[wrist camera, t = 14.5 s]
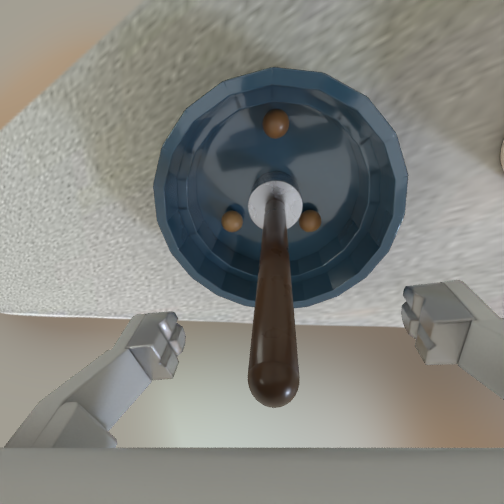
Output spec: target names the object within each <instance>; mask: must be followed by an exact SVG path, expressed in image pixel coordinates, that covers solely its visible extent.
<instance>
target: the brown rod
mask: <svg viewBox="0 0 504 504" xmlns="http://www.w3.org/2000/svg"><path fill="white" fill-rule="evenodd" d="M302 209H303V202H302V198H301V194H300V190H299V187H298V184H297V182H296V181H295V180H294V179H293V178H292V177H291V176H290V175H288V174H286V173H284V172H280V171H272V172H268V173H265V174H263V175H262V176H260V177H259V178H258V179H257V180H256V182H255V183H254V185H253V187H252V190H251V194H250V198H249V201H248V212H249V215H250V217H251V219H252V221H253V222H254V223H255V224H256V225H257V226H258V227H259V228H261V229H263V233H262V242H261V252H260V262H259V271H258V281H257V291H256V301H255V310H254V320H253V330H252V339H251V349H250V350H251V351H250V360H249V368H248V384H249V388H250V391H251V393H252V395H253V396H254V397H255V398H256V400H257V401H259V402H260V403H261V404H263V405H265V406H268V407H272V408H276V407H282V406H284V405H286V404H288V403H289V402H290V401H291V400H292V399H293V398H294V396H295V395H296V393H297V391H298V387H299V367H298V357H297V343H296V332H295V320H294V308H293V296H292V284H291V272H290V260H289V248H288V236H287V229H289V228H290V227H292V226H293V225H294V224H295V223H296V222H297V221H298V220H299V218H300V216H301V214H302Z"/></svg>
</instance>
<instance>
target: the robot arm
mask: <svg viewBox="0 0 504 504" xmlns="http://www.w3.org/2000/svg"><path fill="white" fill-rule="evenodd" d="M403 296H404V298H405V300H406V302H405V303H404V304H403V305H402V311H401V314H402V320H403V324H404V326H405V329H406V330H407V332H408V334H409V335H410V336H412V337H414V338H415V339H416V343H415V347H416V349H417V350H418V352H419V354H420V356H421V357H422V359H423V361H424V363H425V364H426V365H437V364H438V365H439V364H458V366H459V367H460V368H462V369H463V370H465V371H466V372H467V373H468V374H470V375H471V376H472V377H474V378H475V379H477V380H478V381H479V382H481V383H482V384H483V385H485V386H486V387H487V388H489V389H490V390H491V391H493V392H494V393H495V394H497V395H498V396H499V397H501V398H502V399H503V400H504V318H500V317H499V316H498V315H497V314H496V313H495V312H494V311H493V310H492V309H491V308H489V307H488V306H487V305H486V304H485V303H484V302H483V301H482V300H481V299H480V298H479V297H478V296H477V295H476V294H475V293H474V292H473V291H472V290H471V289H470V288H469V287H468V286H467V285H466V284H465V283H464V282H463V281H460V280H454V281H445V282H440V283H430V284H421V285H413V286H406V287H405V289H404V292H403ZM177 320H178V318H177V316H176V314H175V312H159V313H148V314H137V315H135V316H133V317H132V319H131V320H130V322H129V323H128V325H127V327H126V328H125V330H124V331H123V333H122V334H121V336H120V337H119V339H118V340H117V342H116V343H115V345H114V347H113V348H112V349H111V350H107V351H106V352H105V353H104V354H102V355H101V356H99V357H98V358H96V359H95V360H94V361H93V362H91V363H90V364H89V365H87V366H86V367H85V368H83V369H82V370H81V371H79V372H78V373H77V374H75V375H74V376H73V377H71V378H70V379H69V380H67V381H66V382H65V383H63V384H62V385H61V386H59V387H58V388H57V389H56V390H54V391H53V392H52V393H50V394H49V395H48V396H46V397H45V398H44V399H42V400H41V401H40V402H39V403H38V404H37V405H36V406H35V408H34V409H33V410H32V412H31V413H30V414H29V416H28V417H27V418H26V420H25V421H24V422H23V423H22V425H21V426H20V427H19V428H18V430H17V431H16V432H15V434H14V435H13V436H12V437H11V439H10V440H9V441H8V443H7V444H6V445H5V446H4V448H0V504H504V448H116V445H117V440H116V438H115V437H114V436H113V435H111V434H110V433H109V432H108V431H109V430H110V429H111V428H112V426H113V425H114V424H115V423H116V422H117V421H118V420H119V418H120V417H121V416H122V415H123V414H124V413H125V412H126V410H127V409H128V408H129V407H130V406H131V405H132V404H133V402H134V401H135V400H136V399H137V398H138V397H139V396H140V394H141V393H142V392H143V391H144V390H145V389H146V388H147V386H148V385H149V384H150V383H151V380H162V379H172V378H173V377H174V374H175V371H176V369H177V366H178V363H179V361H178V358H177V356H178V355H179V354H180V353H181V352H183V349H184V346H185V339H186V336H185V332H184V329H183V327H182V326H180V325H179V324H178V323H176V322H177Z"/></svg>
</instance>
